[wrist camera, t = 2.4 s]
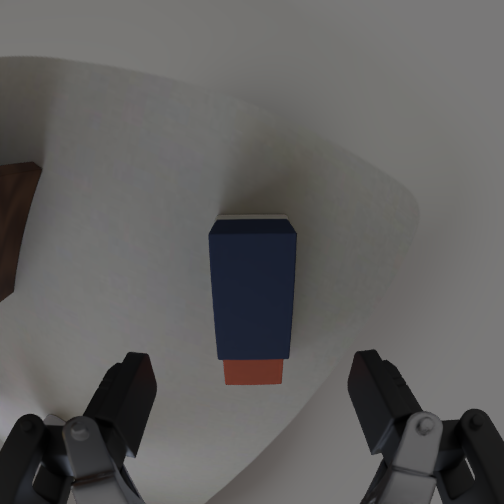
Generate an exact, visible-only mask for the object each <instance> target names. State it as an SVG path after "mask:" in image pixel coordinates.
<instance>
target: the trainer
mask: <svg viewBox="0 0 504 504" xmlns="http://www.w3.org/2000/svg"><path fill="white" fill-rule="evenodd" d="M296 241H297V233H296V231H295V230H294V228H293V227H292V225H291V224H290V222H289V218H288V217H287V215H285V214H249V215H217V217H216V219H215V223H214V225H213V227H212V229H211V231H210V232H209V253H210V270H211V284H212V298H213V311H214V322H215V334H216V344H217V354H218V359H219V360H223V364H224V375H225V384H226V385H265V384H281V383H282V371H283V359H289V353H290V341H291V328H292V315H293V300H294V283H295V264H296Z"/></svg>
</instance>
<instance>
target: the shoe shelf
mask: <svg viewBox="0 0 504 504" xmlns="http://www.w3.org/2000/svg"><path fill="white" fill-rule="evenodd" d="M41 172H42V169H41V168H40V167H39V166H38V165H36V164H35V163H34V162H24V163H15V164H8V165H1V166H0V302H1V301H2V300H4V299H5V298H6V297H8V296H9V295H10V294H12V293H13V292H14V284H15V276H16V269H17V263H18V257H19V252H20V247H21V242H22V237H23V233H24V229H25V225H26V221H27V217H28V213H29V209H30V206H31V202H32V199H33V196H34V193H35V189H36V186H37V183H38V181H39V178H40V175H41Z"/></svg>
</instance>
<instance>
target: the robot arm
mask: <svg viewBox="0 0 504 504" xmlns="http://www.w3.org/2000/svg"><path fill="white" fill-rule="evenodd" d="M156 392H157V383H156V379H155V375H154V372H153V369H152V365H151V361H150V358H149V355H148V354H146V353H136V352H128V353H127V355H126V357H125V359H124V360H123V362H122V363H116V364H115V365H114V366H112V367H111V368H110V369H109V370H108V371H107V373H106V374H105V376H104V378H103V381H101V383H100V385H99V388H97V390H96V392H95V394H94V396H93V397H92V399H91V401H90V403H89V405H88V407H87V409H86V410H85V412H84V414H83V416H77V417H74V418H72V419H70V420H68V421H67V422H66V423H65V425H45V424H44V422H43V421H42V419H41V418H40V417H39V416H37V415H34V414H27V415H24V416H22V417H20V418H19V419H18V420H17V422H16V423H15V425H14V427H13V428H12V430H11V432H10V434H9V436H8V437H7V439H6V441H5V443H4V445H3V447H2V449H1V451H0V504H67V500H68V497H69V494H70V490H72V492H73V495H74V498H75V501H76V504H146V503H145V502H144V500H143V499H142V497H141V495H140V493H139V492H138V490H137V488H136V486H135V484H134V483H133V481H132V479H131V477H130V475H129V473H128V471H127V469H126V467H125V465H124V463H123V462H124V459H125V456H128V457H133V458H136V455H137V452H138V449H139V445H140V442H141V439H142V436H143V433H144V430H145V427H146V424H147V420H148V417H149V414H150V411H151V408H152V405H153V402H154V400H155V397H156ZM348 392H349V395H350V398H351V401H352V403H353V406H354V408H355V411H356V414H357V416H358V419H359V422H360V424H361V427H362V430H363V433H364V435H365V438H366V441H367V443H368V446H369V449H370V452H371V455H374V454H378V453H382V455H383V457H384V458H383V460H382V461H381V463H380V466H379V468H378V470H377V472H376V475H375V477H374V478H373V481H372V482H371V485H370V487H369V488H368V490H367V492H366V494H365V496H364V498H363V499H362V501H361V503H360V504H430V502H431V499H432V496H433V493H434V490H435V486H437V488H438V491H439V494H440V497H441V500H442V503H443V504H504V441H503V440H502V438H501V436H500V435H499V433H498V431H497V430H496V428H495V426H494V424H493V423H492V421H491V420H490V418H489V416H488V415H487V414H486V413H485V412H484V411H482V410H479V409H470V410H467V411H466V412H465V413H464V414H463V415H462V417H461V418H460V420H446V421H441V420H440V419H439V417H437V416H436V415H435V414H432V413H430V412H426V411H425V412H424V411H423V410H422V409H421V407H420V405H419V404H418V402H417V400H416V398H415V397H414V395H413V394H412V392H411V390H410V389H409V387H408V385H406V382H405V380H404V379H403V378H402V375H401V374H400V372H399V371H398V369H397V367H395V366H394V365H393V364H392V363H390V362H389V361H387V360H383V361H382V359H381V358H380V356H379V354H378V353H377V351H376V350H374V349H373V350H365V351H357V352H356V353H355V355H354V359H353V363H352V367H351V371H350V374H349V378H348ZM466 457H467V459H468V462H469V464H470V466H471V468H472V470H473V473H474V475H475V481H474V479H473V476H472V474H471V472H470V469H469V467H468V465H467V463H466V461H465V458H466ZM40 463H41V466H40V468H39V471H38V473H37V476H36V479H35V481H34V484H33V486H32V481H33V478H34V476H35V473H36V471H37V469H38V466H39V464H40ZM74 479H75V481H74ZM73 481H74V482H73Z"/></svg>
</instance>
